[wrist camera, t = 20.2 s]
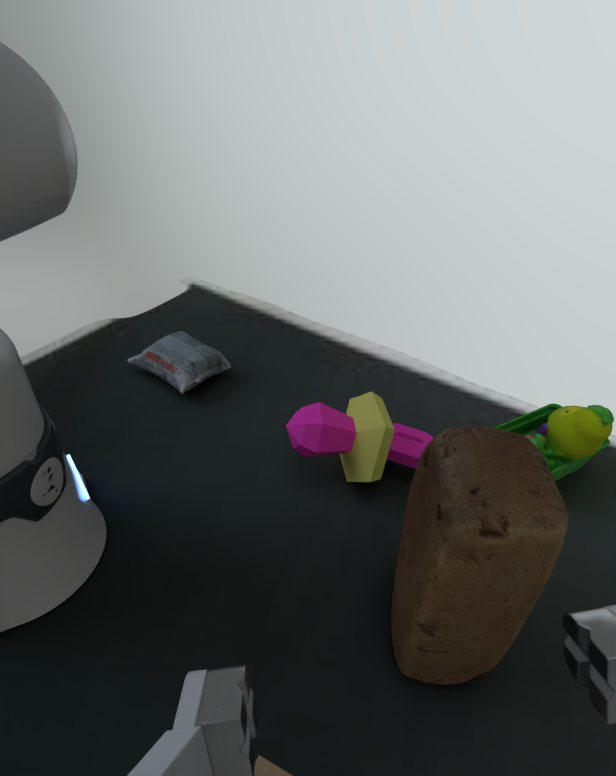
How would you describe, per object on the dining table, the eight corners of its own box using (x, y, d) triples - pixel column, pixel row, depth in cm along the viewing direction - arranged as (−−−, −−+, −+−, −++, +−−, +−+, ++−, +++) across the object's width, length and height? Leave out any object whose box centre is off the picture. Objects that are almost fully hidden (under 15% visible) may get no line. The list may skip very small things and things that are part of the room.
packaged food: (184, 408, 62) (180, 377, 59) (129, 372, 67) (122, 341, 64) (234, 378, 67) (232, 348, 64) (179, 347, 73) (175, 318, 70)
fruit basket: (540, 432, 61) (574, 357, 54) (605, 480, 55) (652, 403, 48) (474, 462, 56) (501, 385, 49) (536, 519, 50) (577, 439, 43)
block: (489, 700, 36) (595, 543, 24) (389, 689, 37) (444, 528, 24) (464, 570, 45) (534, 404, 33) (383, 562, 45) (422, 395, 33)
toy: (446, 512, 51) (475, 420, 49) (285, 494, 46) (311, 389, 44) (403, 473, 61) (427, 394, 59) (265, 454, 55) (286, 367, 53)
